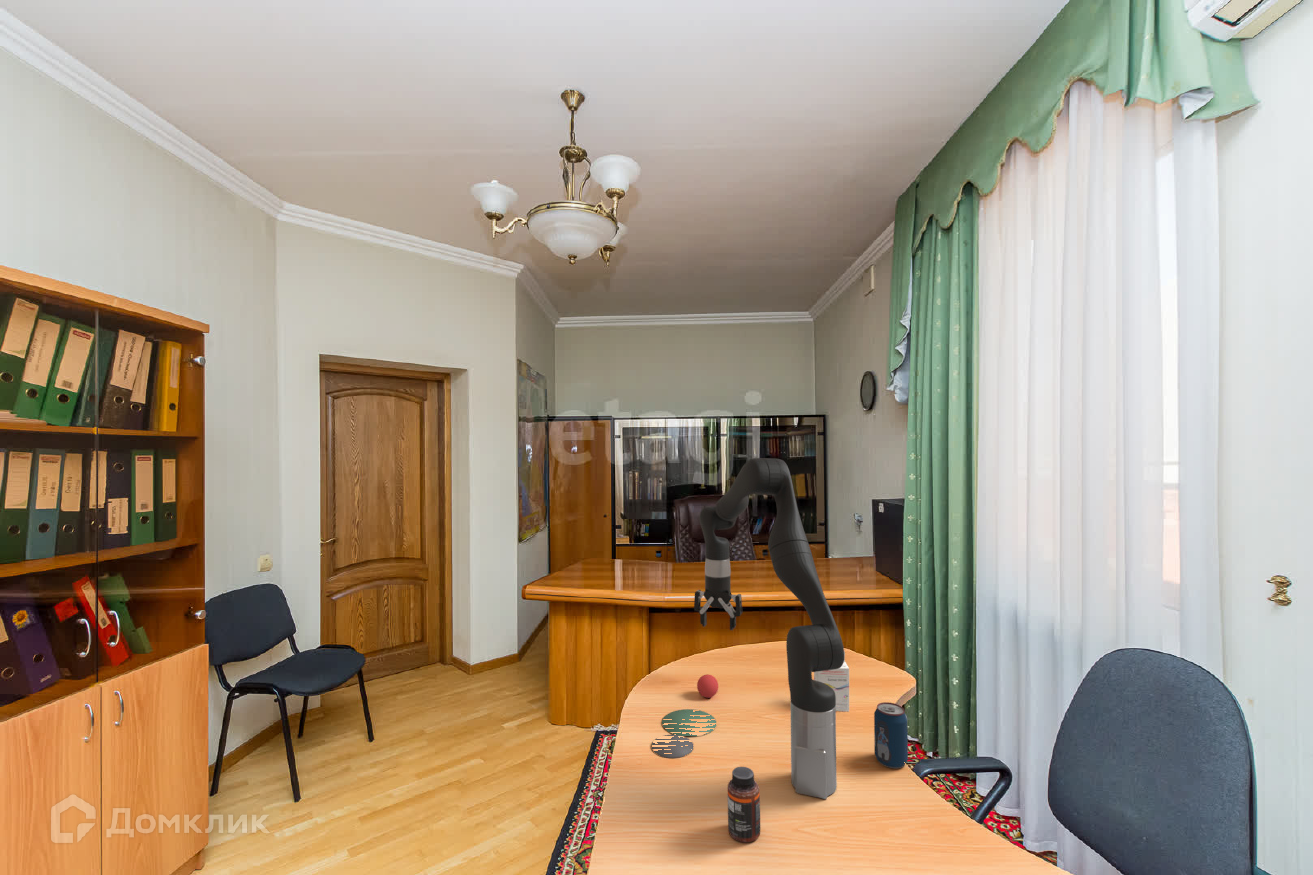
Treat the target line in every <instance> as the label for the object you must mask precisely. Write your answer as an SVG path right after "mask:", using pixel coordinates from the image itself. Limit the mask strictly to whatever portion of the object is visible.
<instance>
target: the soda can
mask: <svg viewBox="0 0 1313 875" xmlns="http://www.w3.org/2000/svg"><path fill="white" fill-rule="evenodd" d="M873 719H874V720H873V723H874V724H873V725H874V726H873V727H874V730H873V731H874V734H873V735H874V736H873V737H874V741H873V742H874V755H875V758H876V760H878V762H879V764H881V765H882V766H883V767H886V768H890V769H901V768H903V767H905V765H906V764H905V763H907V762H908V760H909V758H908V757H909V755H908V754H909V752H908V751H909V750H908V749H909V748H908V747H909V746H908V745H909V744H908V741H909V740H908V738H909V734H908V716H907V714H906V713H905V709H904V707H903V706H901V705H899V704H897V703H894V702H886V701H885V702H879V703H878V704H877V706H876V709H875V711H874V713H873ZM904 762H905V763H904Z"/></svg>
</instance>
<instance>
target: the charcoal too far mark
mask: <svg viewBox="0 0 1313 875" xmlns="http://www.w3.org/2000/svg"><path fill="white" fill-rule="evenodd" d="M663 736H674V737H672V738H671V739H657V738H655V739H654V740H677V741H671V742H669V743H665V742H657V743H658V744H655V743H653V741H652V742H651V745H676V746H668V747H652V748H651V750H652V749H662V750H658V751H654V752H655V753H657V754H658V755H657V754H656V755H657V756H659V755H660V756H659V757H662V758H665V757H666V759H667V758H668V759H679V758H683V757H686V756H688V755H690V754H691V753H692V752H693V750H694V748H693V747H694V746H693V745H694V743H693V742H689V741H684V742H680V741H678V740H691V739H689V737H686V738H683V737H680V738H679V737H678V736H680V735H674V734H666V735H663ZM685 745H688V746H685ZM681 746H683V747H681ZM664 749H671V750H664ZM691 749H692V750H691ZM654 752H653V753H654ZM655 753H654V754H655ZM664 753H672V754H664ZM689 753H690V754H689ZM687 754H688V755H687ZM685 755H686V756H685Z"/></svg>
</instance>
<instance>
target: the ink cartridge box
mask: <svg viewBox="0 0 1313 875" xmlns="http://www.w3.org/2000/svg"><path fill="white" fill-rule="evenodd" d="M845 659H846V652H845V650H844V663H843V665H842V666H841V667H840V668H838V669H834V670H827V671H817V672H813V680H816V681H819V682H822V683H825V684H827V685H828V686H830V687H831V688H832V689H833V690H834V692H835V696H836V712H850V667H849V666H848V664H847V662H846V660H845Z"/></svg>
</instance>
